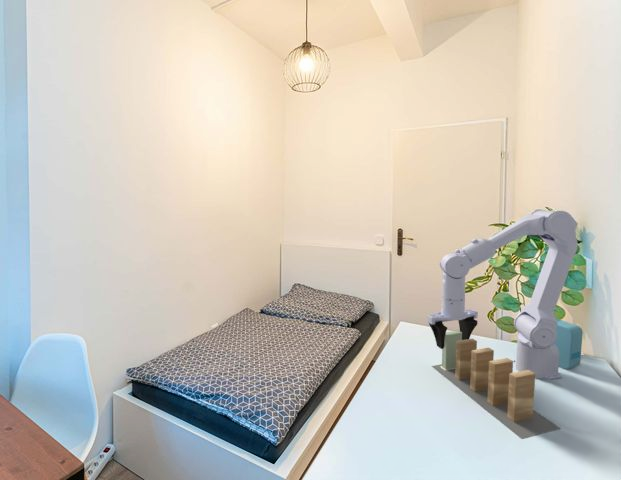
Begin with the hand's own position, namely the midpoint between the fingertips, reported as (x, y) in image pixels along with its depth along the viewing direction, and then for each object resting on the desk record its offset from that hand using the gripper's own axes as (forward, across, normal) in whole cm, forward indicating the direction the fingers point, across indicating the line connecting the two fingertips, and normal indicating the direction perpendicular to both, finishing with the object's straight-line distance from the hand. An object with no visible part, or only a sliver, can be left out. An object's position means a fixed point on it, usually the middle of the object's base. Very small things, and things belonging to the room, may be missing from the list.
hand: (452, 345), depth 89 cm
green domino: (+6, 0, 0) cm, 6 cm away
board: (+7, 0, +12) cm, 14 cm away
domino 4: (+6, 0, +22) cm, 23 cm away
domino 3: (+6, 0, +16) cm, 18 cm away
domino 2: (+6, 0, +11) cm, 13 cm away
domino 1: (+6, 0, +6) cm, 8 cm away
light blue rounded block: (+8, -31, +4) cm, 32 cm away
